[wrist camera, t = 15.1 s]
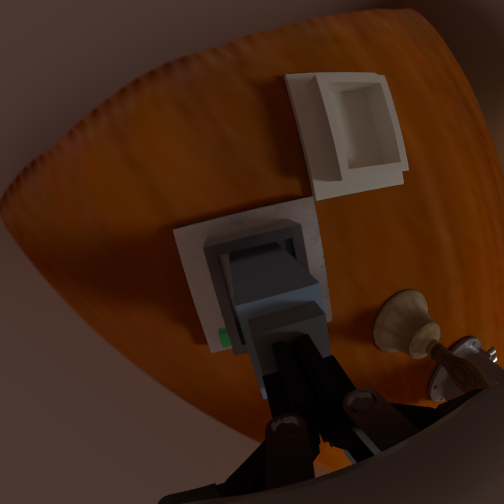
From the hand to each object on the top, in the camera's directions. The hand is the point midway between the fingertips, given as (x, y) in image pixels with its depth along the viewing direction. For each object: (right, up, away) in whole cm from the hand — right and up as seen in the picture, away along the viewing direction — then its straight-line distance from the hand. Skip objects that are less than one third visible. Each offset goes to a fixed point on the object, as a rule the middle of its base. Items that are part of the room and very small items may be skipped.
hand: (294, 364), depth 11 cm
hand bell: (+16, -3, +17) cm, 24 cm away
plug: (-1, +3, +12) cm, 13 cm away
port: (-1, +3, +14) cm, 14 cm away
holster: (+7, +17, +12) cm, 22 cm away
